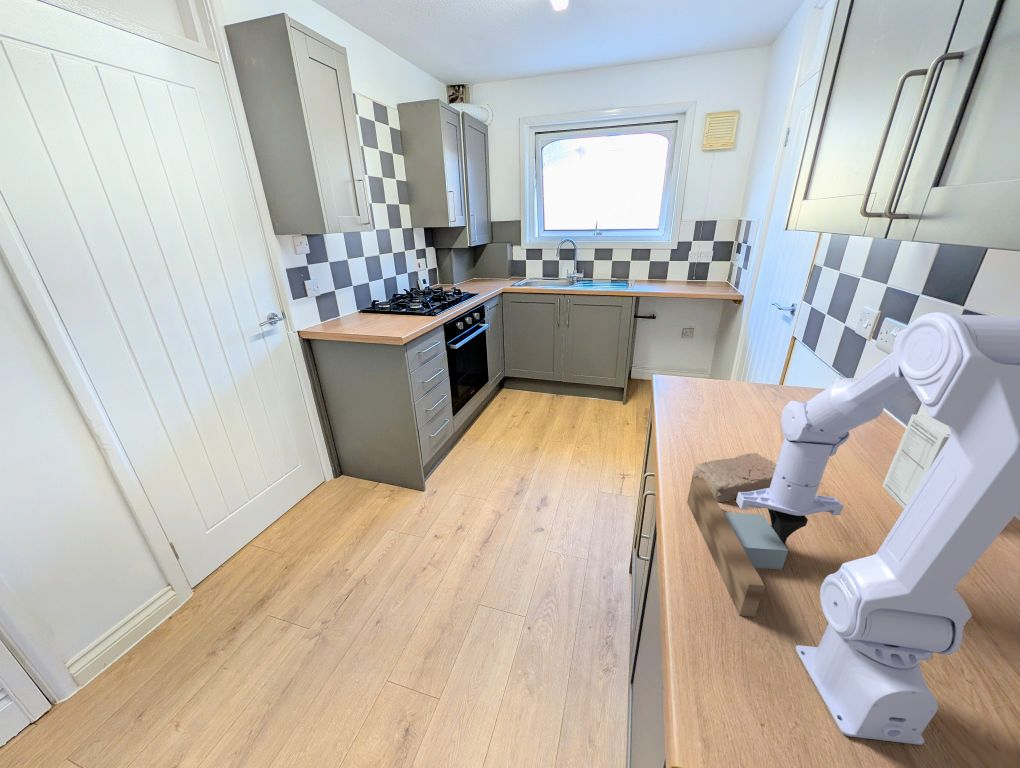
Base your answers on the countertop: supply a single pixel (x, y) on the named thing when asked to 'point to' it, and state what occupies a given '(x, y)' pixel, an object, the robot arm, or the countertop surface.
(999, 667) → the countertop surface
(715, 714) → the countertop surface
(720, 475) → the brick
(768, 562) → the grey block
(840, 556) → the countertop surface
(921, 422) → the supplement box
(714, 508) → the fence board
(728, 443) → the countertop surface
